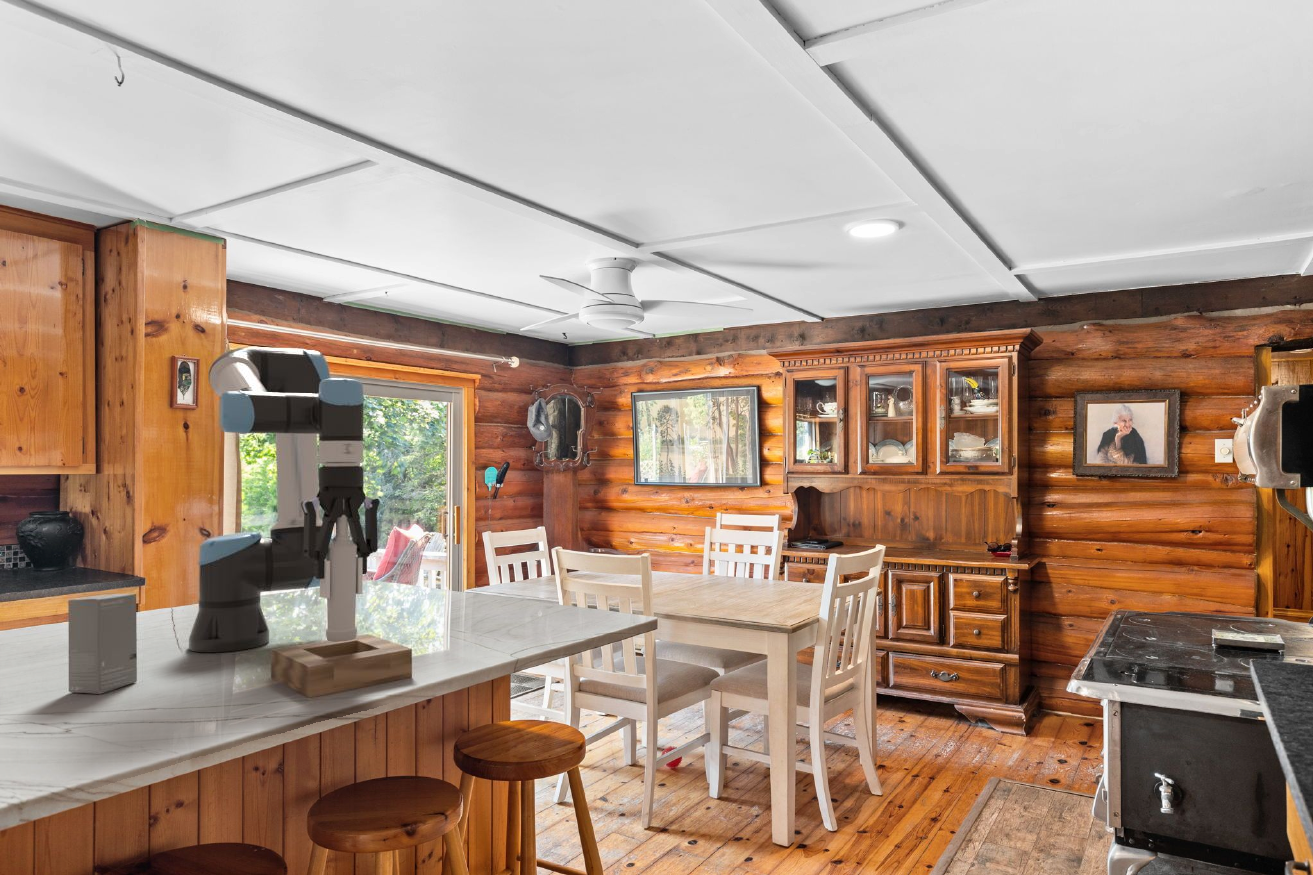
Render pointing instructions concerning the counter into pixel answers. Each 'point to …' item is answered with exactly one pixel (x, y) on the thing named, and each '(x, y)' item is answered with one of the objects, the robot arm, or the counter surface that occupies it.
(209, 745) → the counter surface
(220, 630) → the robot arm
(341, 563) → the bottle
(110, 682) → the skincare box
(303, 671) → the frame
